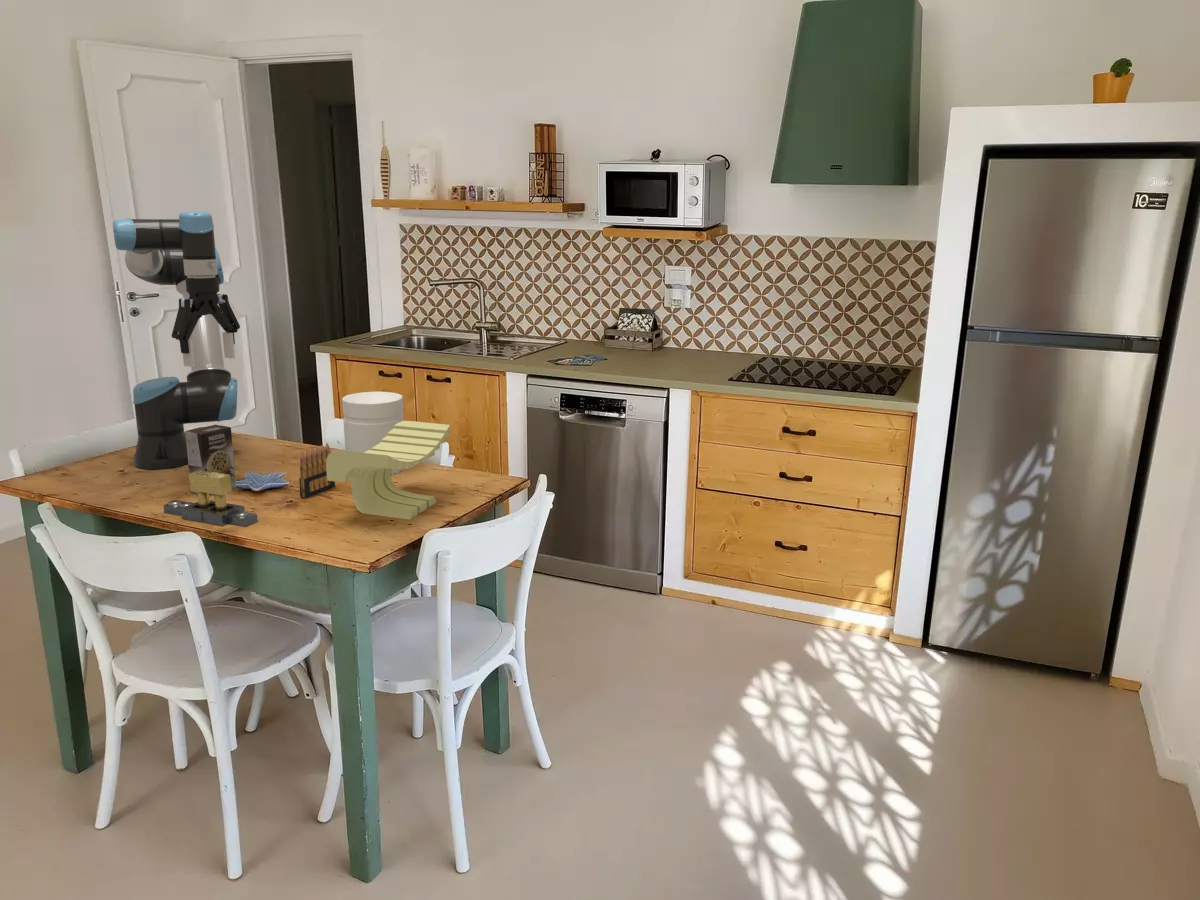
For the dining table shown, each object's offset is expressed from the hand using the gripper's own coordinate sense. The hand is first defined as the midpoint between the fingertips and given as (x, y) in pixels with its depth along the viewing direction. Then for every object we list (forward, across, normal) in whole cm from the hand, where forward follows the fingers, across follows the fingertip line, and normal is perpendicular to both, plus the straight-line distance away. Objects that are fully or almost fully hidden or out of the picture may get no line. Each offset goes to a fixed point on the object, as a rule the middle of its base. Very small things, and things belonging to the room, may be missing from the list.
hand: (210, 362), depth 228 cm
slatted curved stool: (+32, +1, -52) cm, 61 cm away
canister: (+32, +27, -29) cm, 51 cm away
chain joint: (+32, -22, -18) cm, 43 cm away
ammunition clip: (+32, +3, -28) cm, 43 cm away
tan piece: (+32, -22, -18) cm, 43 cm away
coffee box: (+32, -6, -3) cm, 33 cm away
